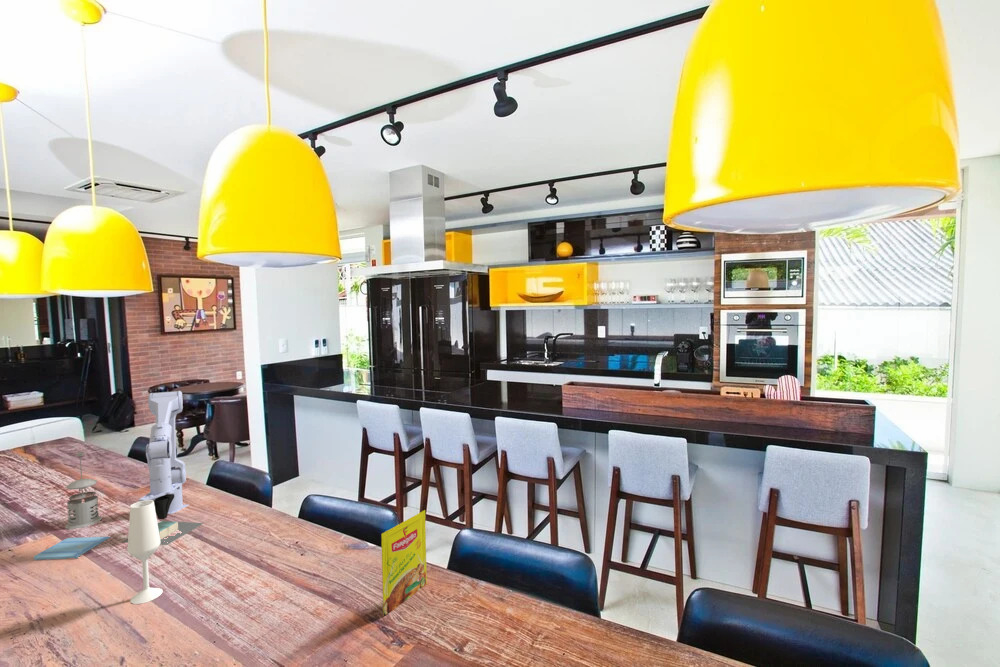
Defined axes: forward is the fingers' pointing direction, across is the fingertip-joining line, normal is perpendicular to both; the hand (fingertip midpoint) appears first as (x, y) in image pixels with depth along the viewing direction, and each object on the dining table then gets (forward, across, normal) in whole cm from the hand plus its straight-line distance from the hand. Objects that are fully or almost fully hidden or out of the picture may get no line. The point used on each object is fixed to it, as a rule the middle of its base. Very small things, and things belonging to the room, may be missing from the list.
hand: (162, 518), depth 152 cm
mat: (+5, 0, 0) cm, 5 cm away
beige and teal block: (+4, +3, 0) cm, 5 cm away
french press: (+6, +6, +36) cm, 37 cm away
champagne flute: (+6, -30, -24) cm, 40 cm away
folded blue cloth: (+6, -11, +20) cm, 24 cm away
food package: (+6, -24, -92) cm, 95 cm away
